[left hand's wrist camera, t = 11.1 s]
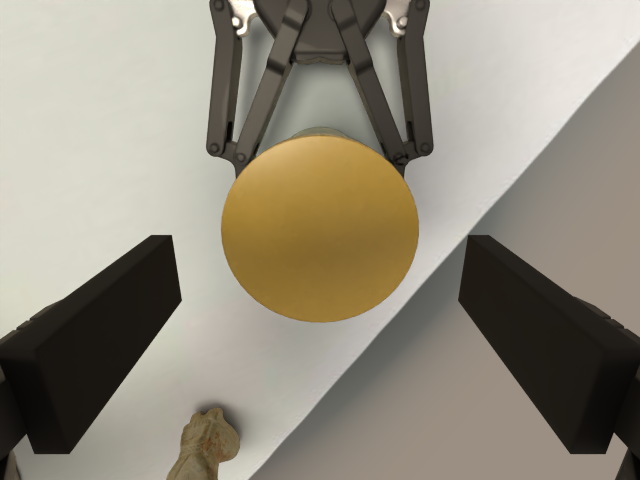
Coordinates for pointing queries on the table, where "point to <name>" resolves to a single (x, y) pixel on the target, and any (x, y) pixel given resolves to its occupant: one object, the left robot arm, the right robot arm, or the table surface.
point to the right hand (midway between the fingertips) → (320, 245)
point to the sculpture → (205, 447)
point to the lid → (319, 228)
